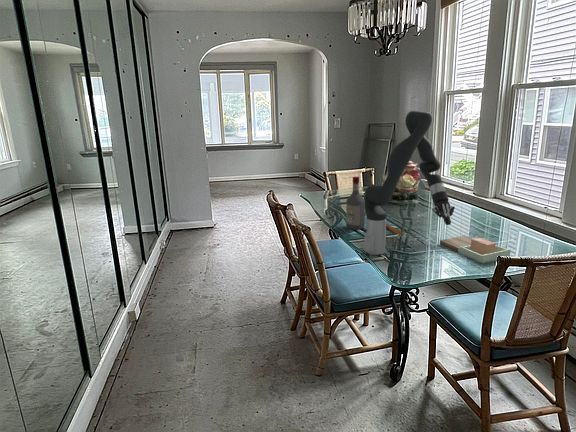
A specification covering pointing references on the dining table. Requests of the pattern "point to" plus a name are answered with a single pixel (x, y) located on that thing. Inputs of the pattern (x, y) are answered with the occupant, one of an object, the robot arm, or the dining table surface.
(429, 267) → the dining table surface
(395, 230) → the primitive tool
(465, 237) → the board
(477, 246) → the salmon-coloured block
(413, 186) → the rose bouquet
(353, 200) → the liquor
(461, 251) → the tray
